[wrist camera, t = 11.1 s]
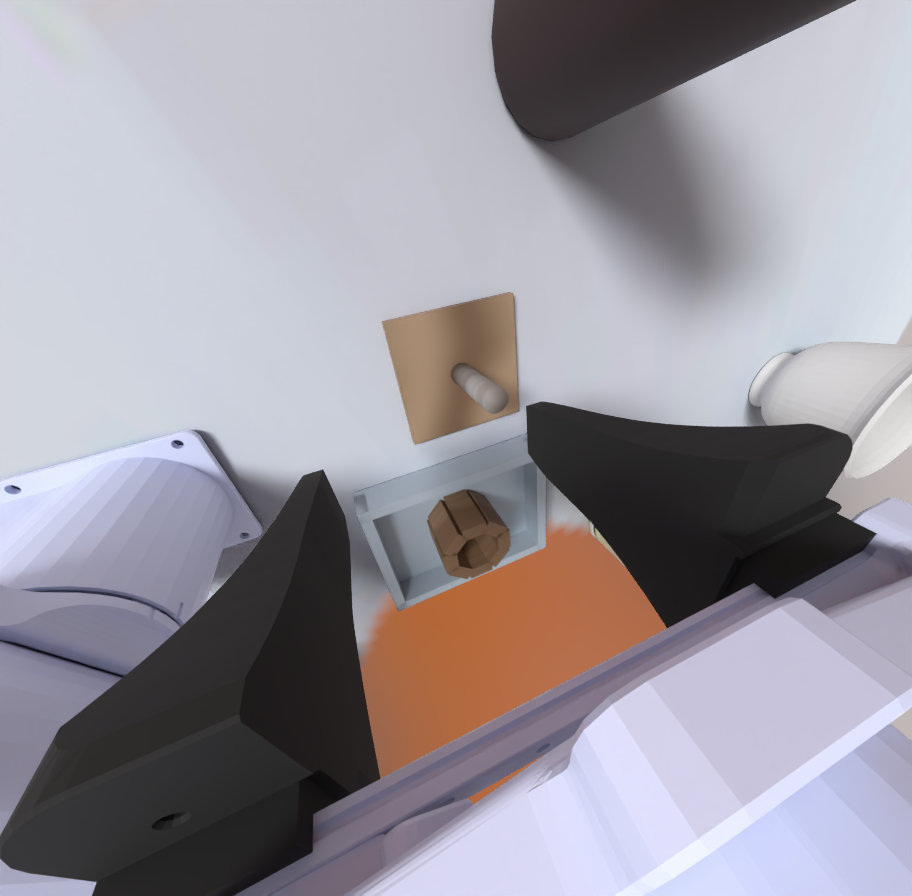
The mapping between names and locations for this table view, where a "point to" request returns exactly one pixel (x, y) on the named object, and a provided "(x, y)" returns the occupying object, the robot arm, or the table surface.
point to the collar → (468, 534)
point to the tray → (416, 494)
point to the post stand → (455, 365)
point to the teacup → (844, 397)
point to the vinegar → (622, 51)
